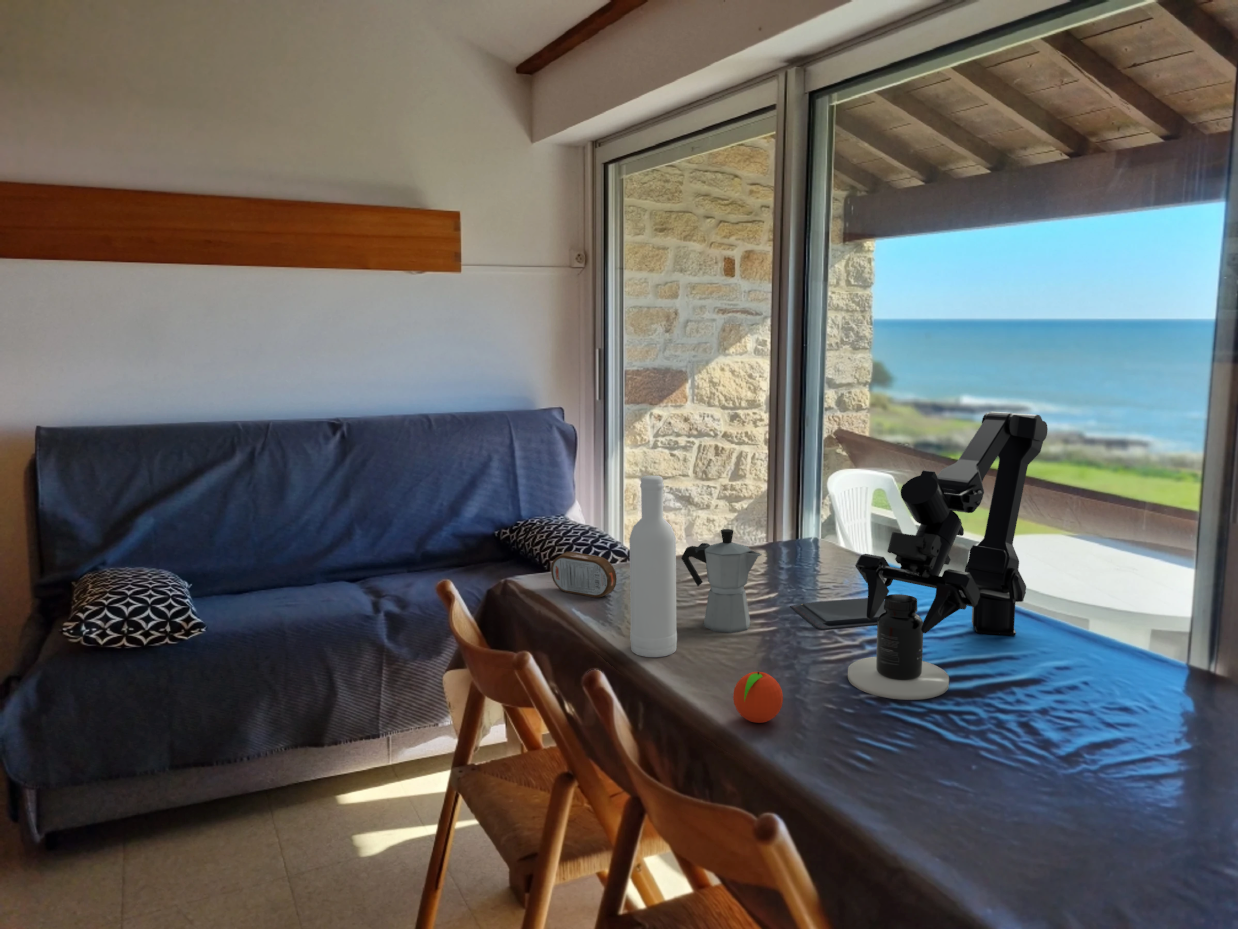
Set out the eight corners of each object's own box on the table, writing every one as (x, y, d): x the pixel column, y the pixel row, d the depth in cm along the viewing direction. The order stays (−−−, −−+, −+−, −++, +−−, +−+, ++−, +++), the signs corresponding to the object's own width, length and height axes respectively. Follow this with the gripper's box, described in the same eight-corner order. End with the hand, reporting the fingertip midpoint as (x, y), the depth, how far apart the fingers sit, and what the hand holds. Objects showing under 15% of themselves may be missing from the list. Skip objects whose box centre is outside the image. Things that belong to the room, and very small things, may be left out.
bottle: (620, 650, 162) (618, 477, 157) (651, 638, 167) (649, 471, 163) (656, 661, 156) (654, 482, 152) (686, 649, 162) (685, 476, 158)
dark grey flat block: (817, 623, 170) (788, 599, 185) (817, 633, 171) (788, 609, 186) (920, 616, 174) (884, 593, 189) (920, 626, 174) (883, 602, 189)
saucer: (945, 667, 152) (945, 660, 151) (952, 704, 137) (952, 696, 137) (849, 660, 156) (849, 653, 155) (845, 694, 141) (846, 687, 141)
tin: (617, 597, 193) (617, 557, 192) (609, 601, 190) (608, 560, 189) (558, 587, 201) (557, 548, 200) (549, 591, 198) (548, 552, 197)
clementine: (768, 738, 127) (768, 688, 126) (721, 727, 131) (721, 678, 130) (790, 717, 134) (791, 668, 133) (745, 707, 138) (745, 660, 136)
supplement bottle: (930, 679, 144) (933, 602, 142) (888, 683, 142) (890, 606, 141) (908, 663, 150) (910, 590, 148) (868, 667, 149) (869, 593, 147)
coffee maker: (765, 621, 176) (766, 526, 174) (756, 635, 168) (757, 537, 165) (688, 614, 181) (687, 522, 179) (675, 628, 173) (675, 532, 170)
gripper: (862, 504, 152) (822, 585, 146) (974, 520, 139) (935, 610, 133) (887, 543, 159) (849, 622, 153) (996, 562, 145) (959, 649, 139)
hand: (895, 625), depth 144 cm, fingers open, 9 cm apart
